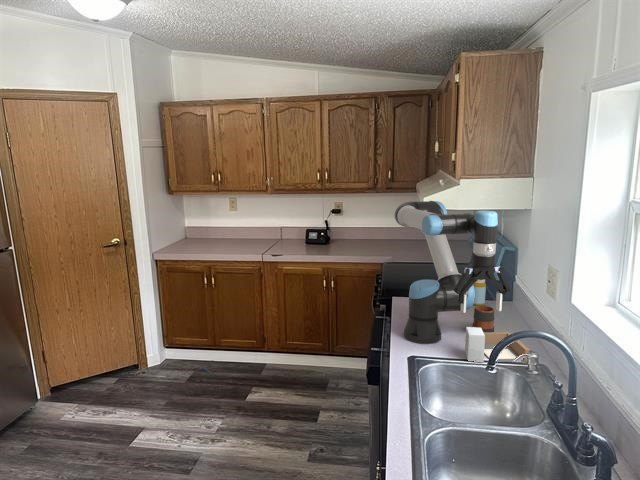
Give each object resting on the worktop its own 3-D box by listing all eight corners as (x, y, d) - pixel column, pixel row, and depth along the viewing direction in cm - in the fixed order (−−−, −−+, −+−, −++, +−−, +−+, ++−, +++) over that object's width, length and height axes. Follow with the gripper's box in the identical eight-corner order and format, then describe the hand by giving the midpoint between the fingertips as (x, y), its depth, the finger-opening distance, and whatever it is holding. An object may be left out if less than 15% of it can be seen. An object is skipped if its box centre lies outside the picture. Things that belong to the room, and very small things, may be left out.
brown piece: (492, 363, 153) (493, 350, 152) (475, 344, 168) (476, 332, 167) (528, 362, 153) (529, 349, 152) (508, 343, 168) (509, 332, 168)
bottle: (483, 307, 212) (484, 277, 209) (468, 304, 215) (470, 275, 212) (486, 303, 217) (487, 274, 215) (471, 300, 221) (473, 272, 218)
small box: (483, 363, 153) (485, 335, 151) (467, 362, 154) (468, 334, 152) (480, 353, 160) (481, 327, 158) (464, 352, 161) (465, 326, 160)
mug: (494, 330, 182) (496, 304, 180) (493, 340, 172) (495, 313, 170) (473, 327, 186) (474, 301, 184) (471, 337, 175) (472, 310, 173)
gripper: (455, 257, 147) (452, 316, 151) (523, 255, 150) (518, 312, 154) (446, 253, 155) (444, 308, 158) (511, 250, 157) (507, 305, 161)
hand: (480, 310), depth 156 cm, fingers open, 13 cm apart
